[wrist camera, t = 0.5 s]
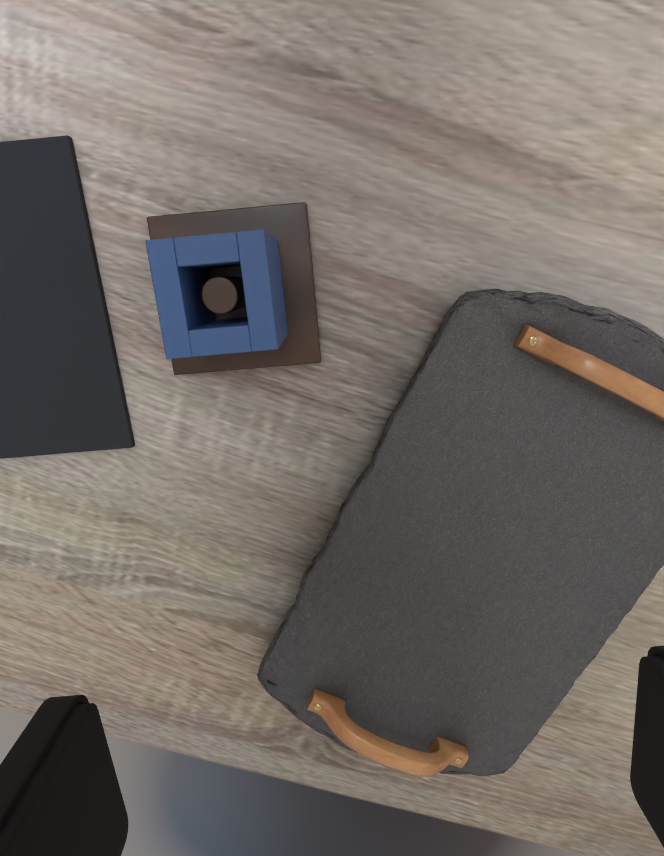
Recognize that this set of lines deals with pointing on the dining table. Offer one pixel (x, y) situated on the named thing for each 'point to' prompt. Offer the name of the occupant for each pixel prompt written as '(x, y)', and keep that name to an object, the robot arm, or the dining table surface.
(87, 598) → the dining table surface
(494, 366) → the serving tray
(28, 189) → the mat
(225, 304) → the dowel stand
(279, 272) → the block
